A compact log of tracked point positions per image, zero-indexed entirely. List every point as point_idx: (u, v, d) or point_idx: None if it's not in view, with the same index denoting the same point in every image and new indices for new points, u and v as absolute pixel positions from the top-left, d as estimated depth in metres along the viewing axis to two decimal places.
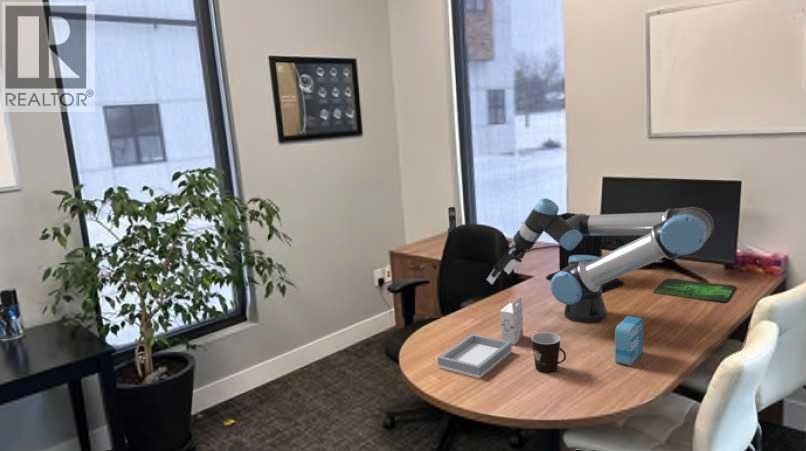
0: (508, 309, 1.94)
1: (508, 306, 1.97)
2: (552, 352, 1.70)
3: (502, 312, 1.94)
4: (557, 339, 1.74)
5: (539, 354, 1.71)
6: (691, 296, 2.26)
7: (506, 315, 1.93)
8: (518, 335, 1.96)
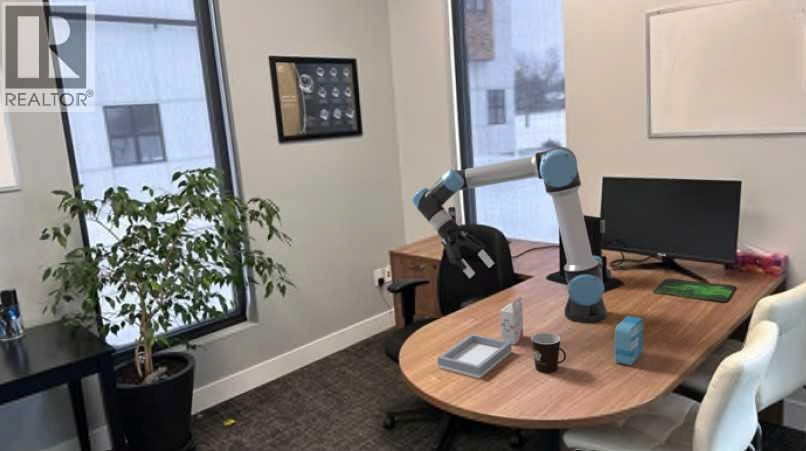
0: (508, 309, 1.94)
1: (508, 306, 1.97)
2: (552, 352, 1.70)
3: (502, 312, 1.94)
4: (557, 339, 1.74)
5: (539, 354, 1.71)
6: (691, 296, 2.26)
7: (506, 315, 1.93)
8: (518, 335, 1.96)
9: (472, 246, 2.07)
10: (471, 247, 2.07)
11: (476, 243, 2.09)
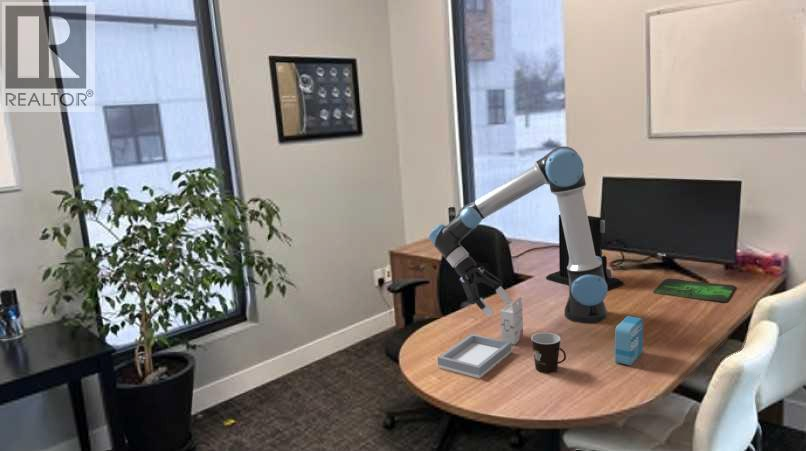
0: (508, 309, 1.94)
1: (508, 306, 1.97)
2: (552, 352, 1.70)
3: (502, 312, 1.94)
4: (557, 339, 1.74)
5: (539, 354, 1.71)
6: (691, 296, 2.26)
7: (506, 315, 1.93)
8: (518, 335, 1.96)
9: (490, 283, 2.05)
10: (489, 284, 2.05)
11: (494, 279, 2.07)
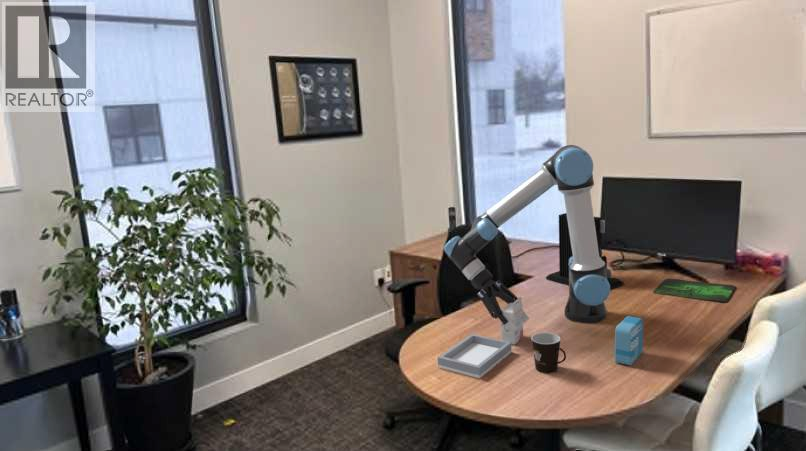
0: (508, 309, 1.94)
1: (508, 306, 1.97)
2: (552, 352, 1.70)
3: (502, 312, 1.94)
4: (557, 339, 1.74)
5: (539, 354, 1.71)
6: (691, 296, 2.26)
7: None
8: (518, 335, 1.96)
9: (506, 298, 2.01)
10: (504, 299, 2.01)
11: (510, 295, 2.03)
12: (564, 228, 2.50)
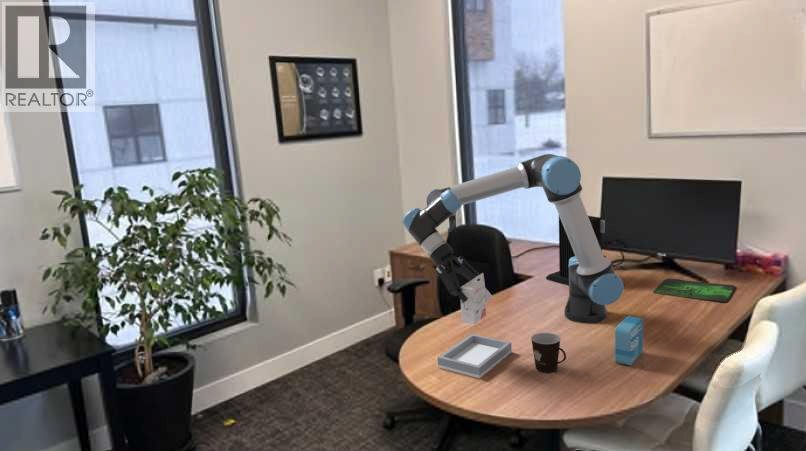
0: (468, 286, 1.79)
1: (469, 283, 1.82)
2: (552, 352, 1.70)
3: None
4: (557, 339, 1.74)
5: (539, 354, 1.71)
6: (691, 296, 2.26)
7: None
8: (479, 314, 1.81)
9: (467, 275, 1.85)
10: (466, 276, 1.86)
11: (472, 272, 1.87)
12: None
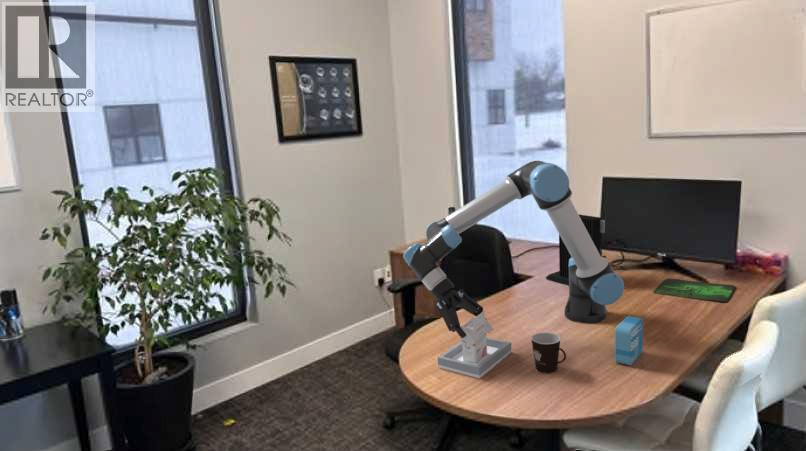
0: (469, 325, 1.81)
1: (470, 321, 1.83)
2: (552, 352, 1.70)
3: None
4: (557, 339, 1.74)
5: (539, 354, 1.71)
6: (691, 296, 2.26)
7: None
8: (480, 353, 1.82)
9: (469, 309, 1.88)
10: (468, 310, 1.88)
11: (473, 305, 1.90)
12: None
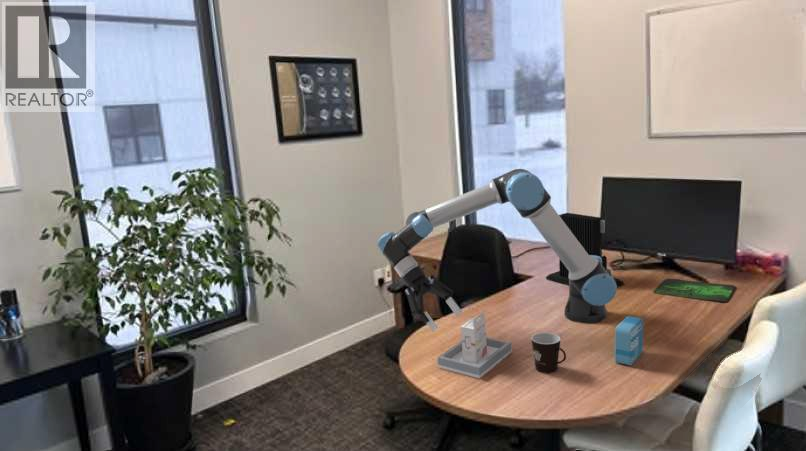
0: (469, 325, 1.81)
1: (469, 321, 1.83)
2: (552, 352, 1.70)
3: (462, 328, 1.80)
4: (557, 339, 1.74)
5: (539, 354, 1.71)
6: (691, 296, 2.26)
7: (467, 331, 1.79)
8: (480, 353, 1.82)
9: (439, 293, 1.97)
10: (438, 294, 1.98)
11: (444, 289, 1.99)
12: None
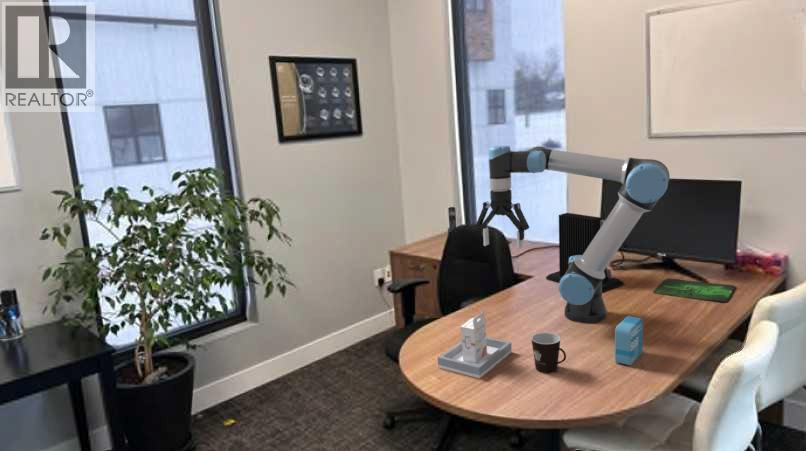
0: (469, 325, 1.81)
1: (470, 321, 1.83)
2: (552, 352, 1.70)
3: (462, 328, 1.80)
4: (557, 339, 1.74)
5: (539, 354, 1.71)
6: (691, 296, 2.26)
7: (467, 331, 1.79)
8: (480, 353, 1.82)
9: None
10: None
11: None
12: (564, 228, 2.50)
